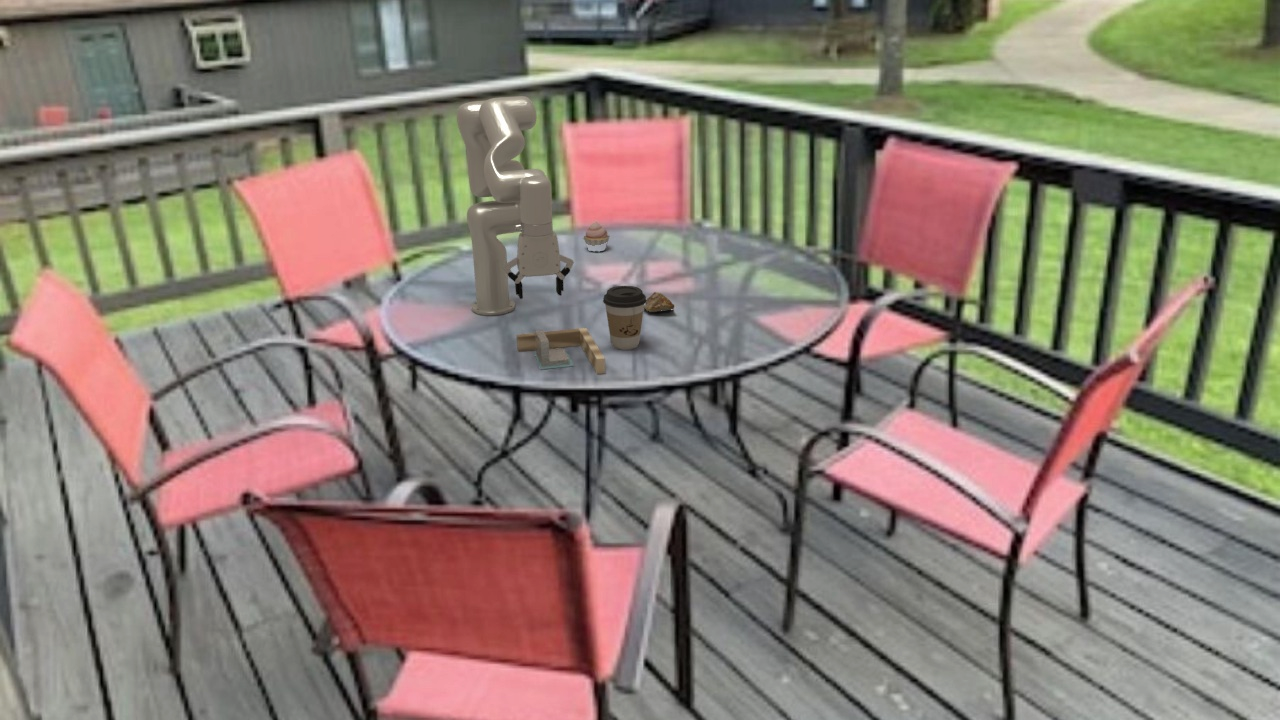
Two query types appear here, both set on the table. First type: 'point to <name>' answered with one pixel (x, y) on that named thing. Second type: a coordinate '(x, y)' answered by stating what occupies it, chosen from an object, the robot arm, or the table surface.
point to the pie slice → (658, 303)
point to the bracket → (549, 352)
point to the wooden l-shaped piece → (567, 344)
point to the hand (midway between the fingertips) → (539, 295)
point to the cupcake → (596, 235)
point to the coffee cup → (624, 315)
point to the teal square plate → (556, 366)
